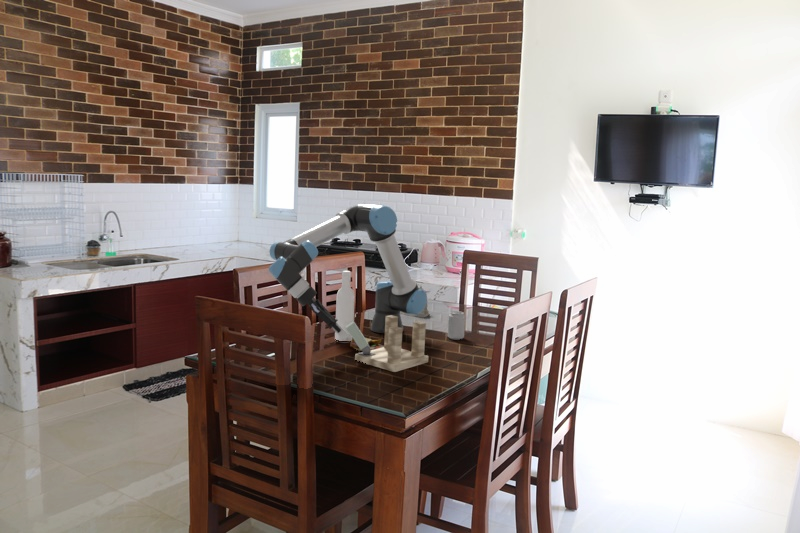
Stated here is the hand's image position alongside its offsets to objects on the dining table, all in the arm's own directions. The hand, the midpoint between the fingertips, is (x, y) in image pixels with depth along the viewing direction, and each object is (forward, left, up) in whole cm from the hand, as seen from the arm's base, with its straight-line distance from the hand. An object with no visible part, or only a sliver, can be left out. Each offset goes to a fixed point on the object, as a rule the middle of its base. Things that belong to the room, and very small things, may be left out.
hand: (345, 336), depth 244 cm
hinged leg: (+6, +6, -6) cm, 11 cm away
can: (+7, +64, -9) cm, 65 cm away
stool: (+13, +13, -9) cm, 20 cm away
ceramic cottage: (-40, +91, -10) cm, 100 cm away
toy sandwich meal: (-6, +19, -10) cm, 22 cm away
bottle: (-22, +22, -9) cm, 33 cm away
